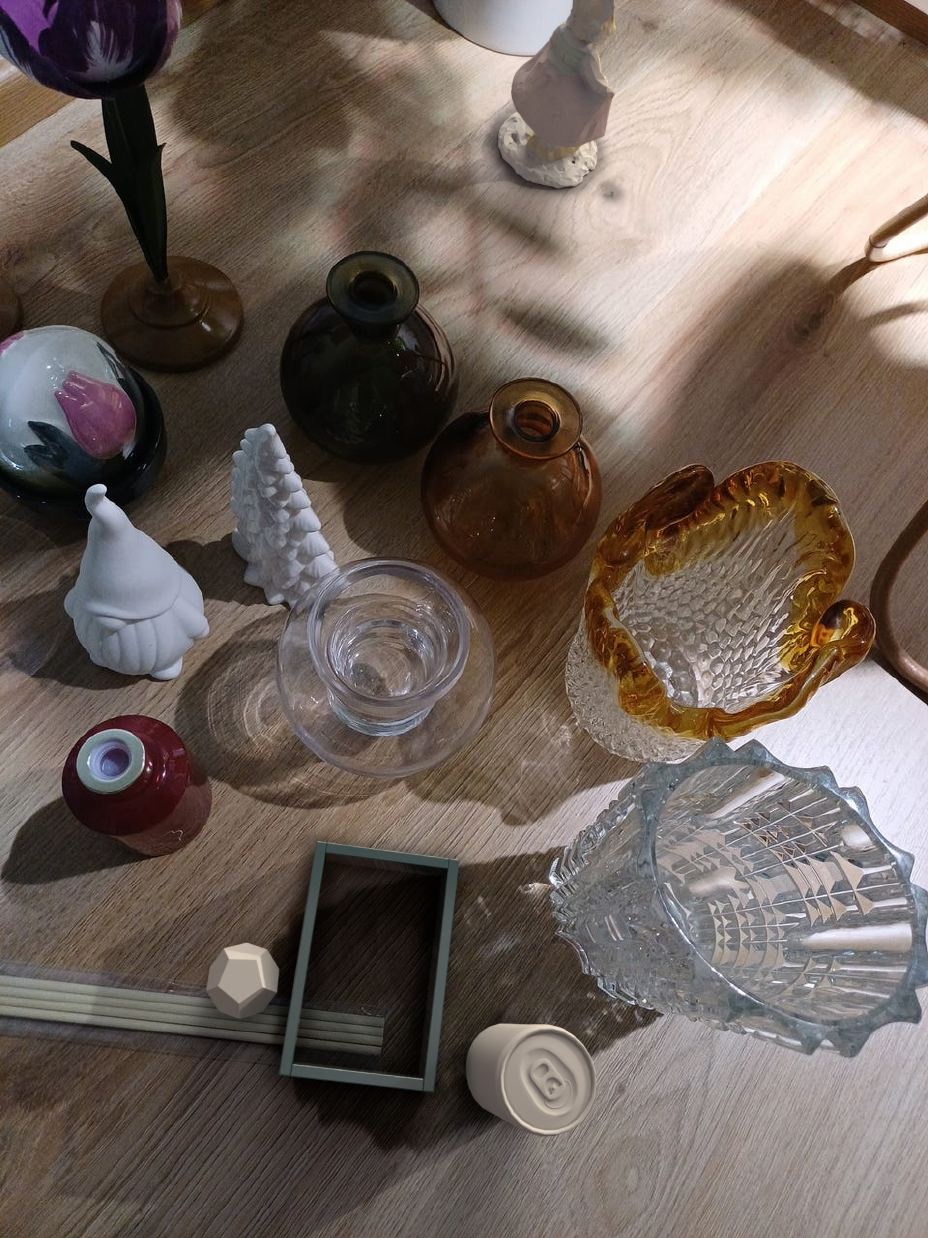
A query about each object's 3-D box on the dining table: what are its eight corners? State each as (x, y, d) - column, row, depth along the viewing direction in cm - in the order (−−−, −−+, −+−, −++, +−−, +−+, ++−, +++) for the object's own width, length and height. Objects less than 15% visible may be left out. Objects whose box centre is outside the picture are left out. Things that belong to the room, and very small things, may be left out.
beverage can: (499, 1135, 58) (543, 1163, 47) (445, 1062, 59) (475, 1073, 48) (563, 1074, 59) (620, 1088, 48) (510, 1005, 60) (553, 1002, 49)
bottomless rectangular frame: (427, 1088, 58) (434, 1092, 55) (280, 1072, 57) (278, 1075, 54) (452, 867, 63) (459, 859, 59) (316, 850, 62) (316, 840, 59)
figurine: (652, 128, 85) (688, 7, 70) (596, 232, 85) (620, 132, 70) (536, 70, 86) (547, -62, 71) (479, 173, 85) (479, 61, 70)
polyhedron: (216, 1026, 58) (211, 1027, 55) (202, 958, 59) (196, 954, 56) (287, 1004, 59) (286, 1003, 56) (272, 937, 60) (269, 932, 57)
